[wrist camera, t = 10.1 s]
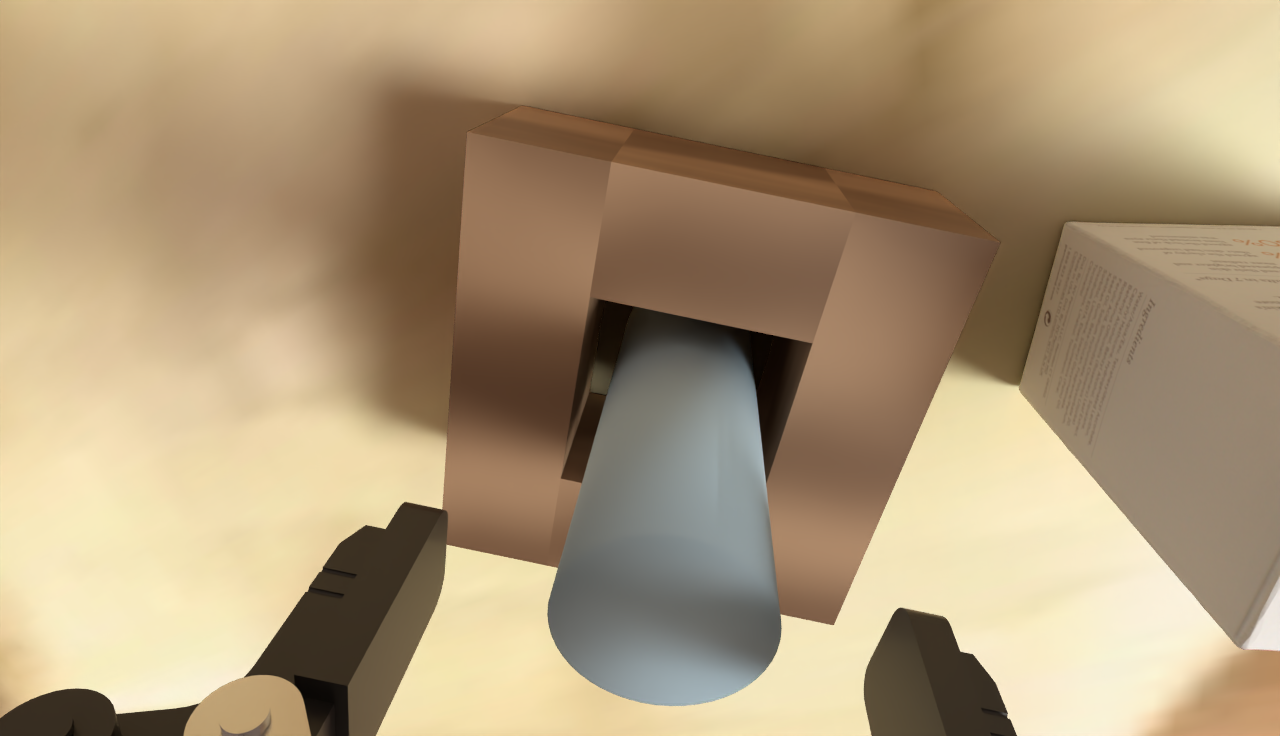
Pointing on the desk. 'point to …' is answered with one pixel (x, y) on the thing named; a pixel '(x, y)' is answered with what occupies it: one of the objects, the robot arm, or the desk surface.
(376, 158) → the desk surface
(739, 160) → the socket block
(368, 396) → the desk surface
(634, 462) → the peg
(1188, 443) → the small box
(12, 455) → the desk surface
